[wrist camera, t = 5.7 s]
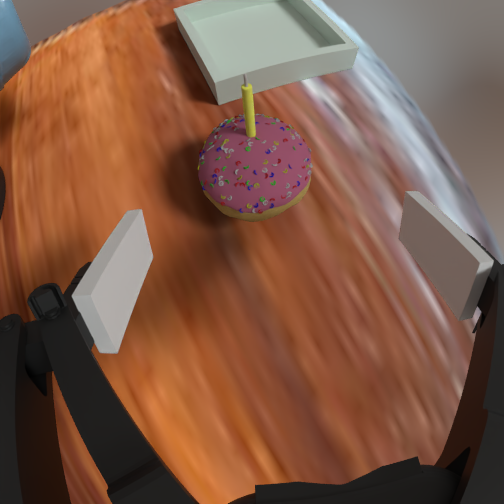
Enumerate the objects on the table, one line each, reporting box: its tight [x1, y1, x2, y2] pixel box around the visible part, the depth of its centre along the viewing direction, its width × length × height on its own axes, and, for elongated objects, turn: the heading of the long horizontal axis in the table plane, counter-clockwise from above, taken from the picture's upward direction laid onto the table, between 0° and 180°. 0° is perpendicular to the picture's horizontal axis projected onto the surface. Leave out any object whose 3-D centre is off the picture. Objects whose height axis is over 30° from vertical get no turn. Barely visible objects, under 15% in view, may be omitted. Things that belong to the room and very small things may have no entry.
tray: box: [174, 0, 359, 105], centre depth 31 cm, size 16×16×4 cm
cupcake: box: [198, 74, 312, 222], centre depth 22 cm, size 9×8×12 cm
